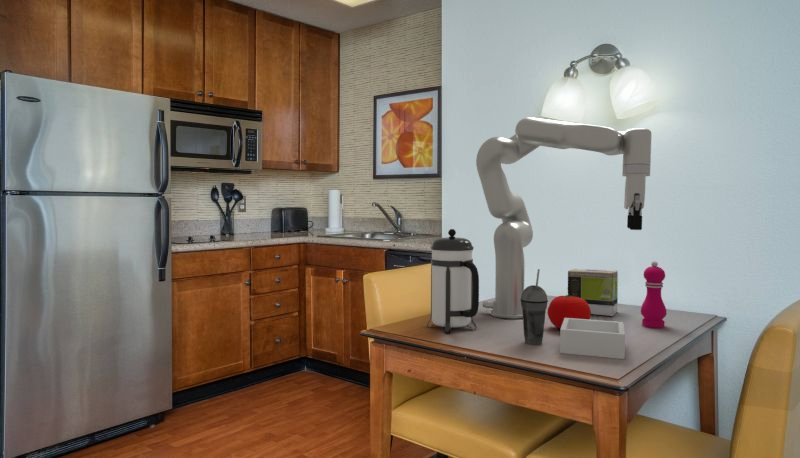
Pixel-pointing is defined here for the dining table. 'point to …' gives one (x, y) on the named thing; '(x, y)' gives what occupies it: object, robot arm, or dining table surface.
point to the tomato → (568, 309)
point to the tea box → (595, 289)
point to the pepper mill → (653, 298)
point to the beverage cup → (534, 313)
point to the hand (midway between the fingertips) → (634, 229)
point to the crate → (592, 338)
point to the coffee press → (453, 283)
